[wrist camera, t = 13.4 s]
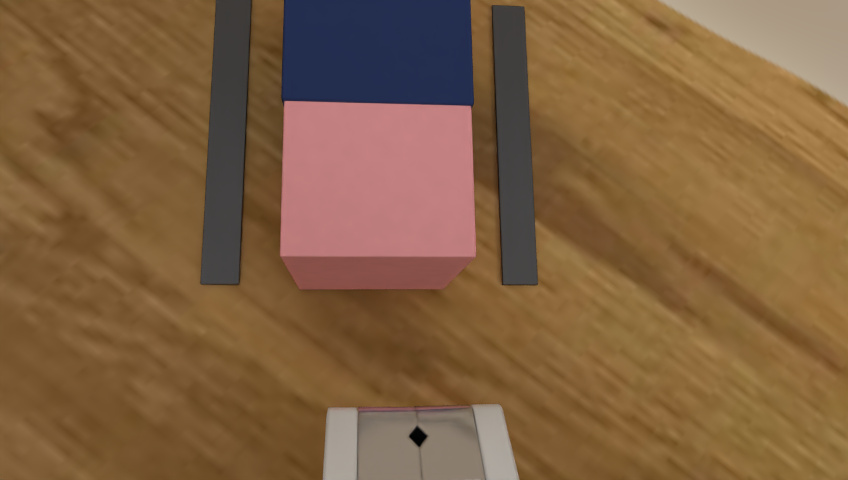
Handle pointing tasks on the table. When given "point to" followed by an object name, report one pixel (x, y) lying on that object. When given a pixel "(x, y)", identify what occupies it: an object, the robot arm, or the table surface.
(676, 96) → the table surface
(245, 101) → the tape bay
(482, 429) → the robot arm
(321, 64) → the eraser
